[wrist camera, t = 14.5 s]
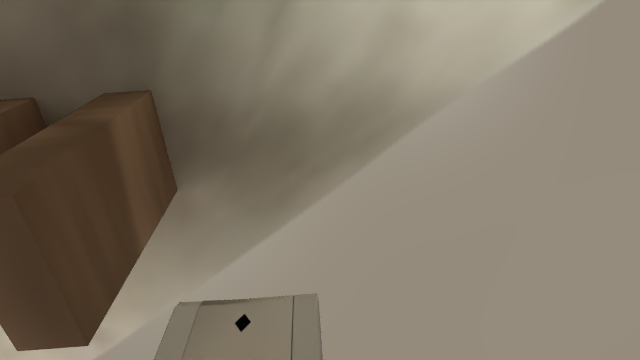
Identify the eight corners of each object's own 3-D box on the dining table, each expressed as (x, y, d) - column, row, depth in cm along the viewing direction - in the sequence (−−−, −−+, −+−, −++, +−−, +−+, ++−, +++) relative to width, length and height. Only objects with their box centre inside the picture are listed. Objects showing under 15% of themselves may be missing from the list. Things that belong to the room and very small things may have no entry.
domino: (136, 193, 19) (17, 351, 11) (104, 93, 16) (-79, 201, 8) (177, 190, 19) (87, 346, 11) (150, 90, 16) (11, 195, 9)
